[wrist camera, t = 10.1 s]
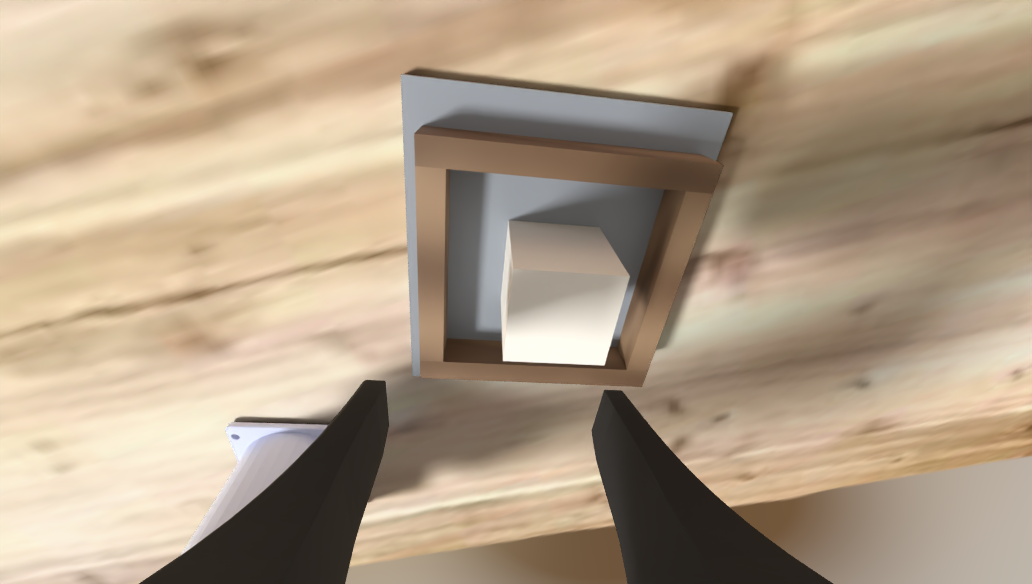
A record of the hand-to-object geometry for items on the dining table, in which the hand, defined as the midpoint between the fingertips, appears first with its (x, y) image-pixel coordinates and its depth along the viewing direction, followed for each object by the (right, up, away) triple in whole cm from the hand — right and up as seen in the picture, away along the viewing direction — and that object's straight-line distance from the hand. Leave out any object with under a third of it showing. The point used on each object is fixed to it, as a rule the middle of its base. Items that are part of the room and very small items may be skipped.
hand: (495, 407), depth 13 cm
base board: (+2, +5, +8) cm, 10 cm away
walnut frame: (+2, +5, +8) cm, 10 cm away
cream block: (+2, +5, +7) cm, 9 cm away
